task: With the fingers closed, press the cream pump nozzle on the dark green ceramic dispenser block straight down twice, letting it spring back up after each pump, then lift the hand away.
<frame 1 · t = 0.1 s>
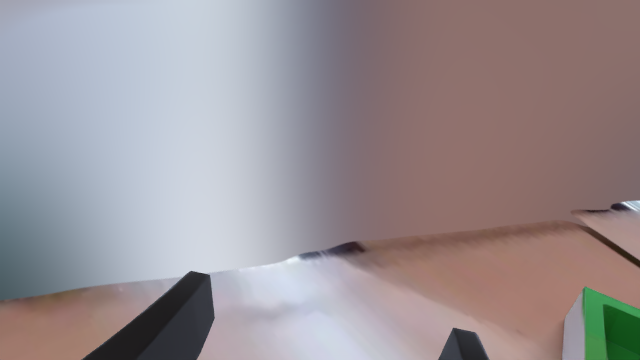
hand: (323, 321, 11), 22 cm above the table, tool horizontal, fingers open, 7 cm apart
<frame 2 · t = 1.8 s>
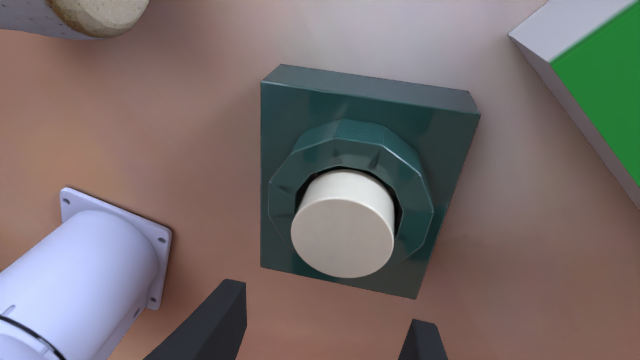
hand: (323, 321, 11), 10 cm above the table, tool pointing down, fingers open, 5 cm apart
nozzle: (344, 224, 15), point 6 cm above the table, slide at 0.1 cm
pump block: (355, 175, 20), on the table
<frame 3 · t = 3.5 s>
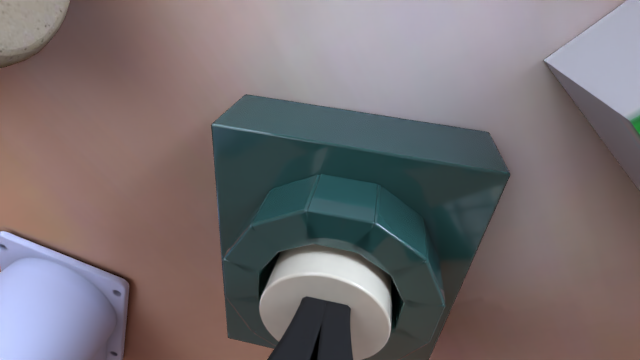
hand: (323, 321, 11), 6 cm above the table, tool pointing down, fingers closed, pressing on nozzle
nozzle: (328, 294, 12), point 5 cm above the table, slide at -0.9 cm, touching gripper
pump block: (343, 227, 16), on the table
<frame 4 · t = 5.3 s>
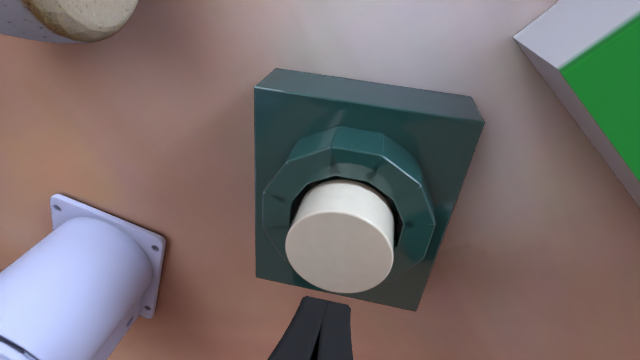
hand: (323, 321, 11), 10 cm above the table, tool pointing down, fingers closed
nozzle: (341, 236, 14), point 6 cm above the table, slide at 0.1 cm
pump block: (353, 182, 19), on the table
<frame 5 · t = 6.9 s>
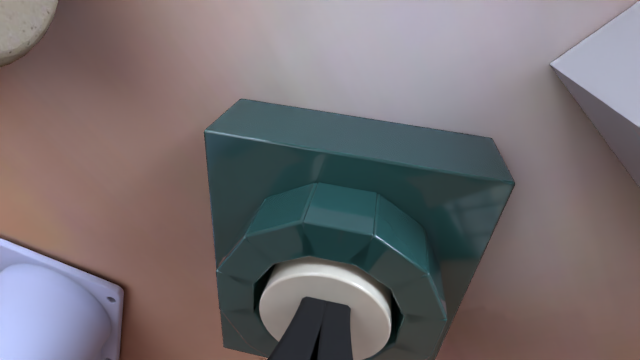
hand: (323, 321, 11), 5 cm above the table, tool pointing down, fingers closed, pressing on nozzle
nozzle: (328, 294, 12), point 4 cm above the table, slide at -1.4 cm, touching gripper
pump block: (342, 234, 16), on the table
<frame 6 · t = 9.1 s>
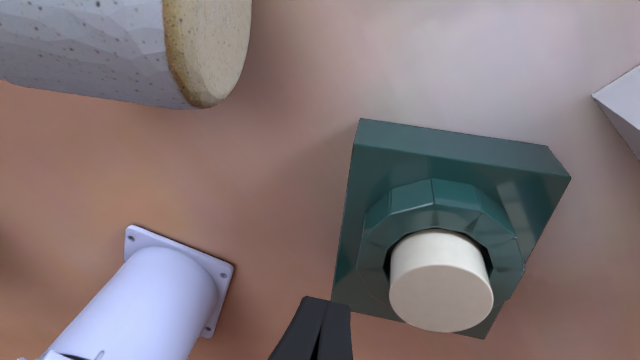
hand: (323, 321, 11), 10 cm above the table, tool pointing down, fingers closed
nozzle: (437, 281, 15), point 6 cm above the table, slide at 0.1 cm
pump block: (424, 218, 21), on the table
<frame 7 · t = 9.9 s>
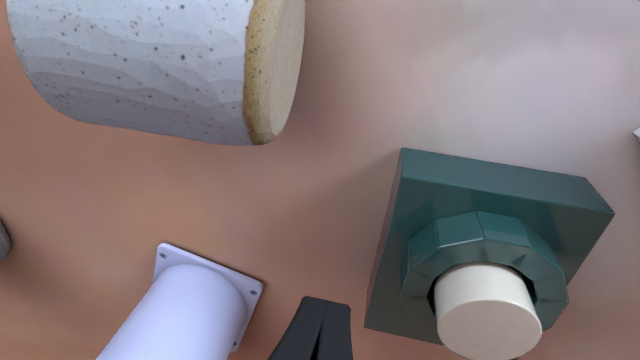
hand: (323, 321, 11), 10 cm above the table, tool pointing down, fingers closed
nozzle: (482, 311, 16), point 6 cm above the table, slide at 0.1 cm
pump block: (458, 243, 21), on the table
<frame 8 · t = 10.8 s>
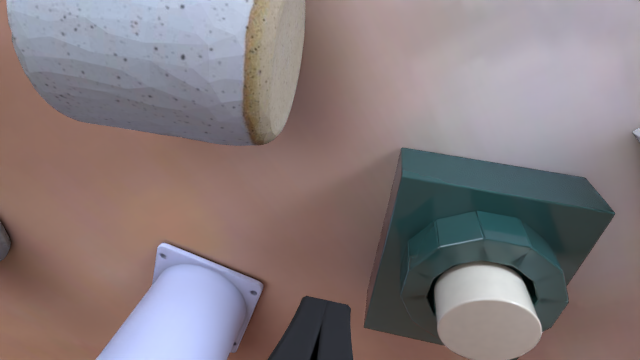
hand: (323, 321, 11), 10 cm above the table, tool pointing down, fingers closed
nozzle: (482, 311, 16), point 6 cm above the table, slide at 0.1 cm
pump block: (458, 243, 21), on the table
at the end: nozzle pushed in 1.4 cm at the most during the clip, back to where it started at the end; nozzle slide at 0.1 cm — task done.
